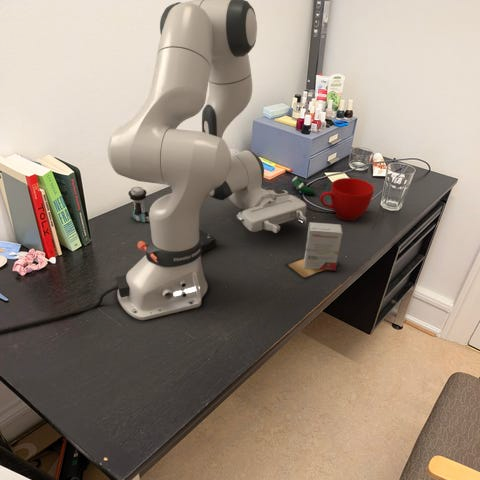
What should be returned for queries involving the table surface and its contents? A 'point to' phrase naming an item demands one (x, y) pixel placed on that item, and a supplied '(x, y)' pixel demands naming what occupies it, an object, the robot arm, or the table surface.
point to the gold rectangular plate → (303, 269)
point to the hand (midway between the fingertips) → (291, 225)
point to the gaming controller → (302, 186)
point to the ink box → (322, 246)
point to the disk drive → (206, 240)
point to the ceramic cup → (349, 197)
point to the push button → (139, 204)
